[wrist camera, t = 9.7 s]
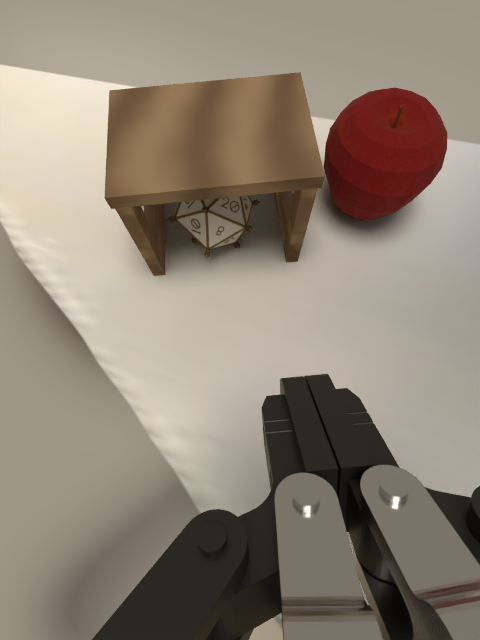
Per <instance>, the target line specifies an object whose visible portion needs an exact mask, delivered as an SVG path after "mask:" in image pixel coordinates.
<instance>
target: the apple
mask: <svg viewBox="0 0 480 640" xmlns="http://www.w3.org/2000/svg"><path fill="white" fill-rule="evenodd" d="M446 150H447V131H446V129H445V127H444V124H443V121H442V119H441V117H440V115H439V114H438V112H437V110H436V109H435V108H434V107H433V106H432V105H431V103H430V102H429V101H428V100H427V99H426V98H424V97H422V96H420V95H418V94H416V93H414V92H412V91H408V90H403V89H399V88H389V89H382V90H376V91H371V92H368V93H366V94H364V95H362V96H361V97H359V98H357V99H355V100H353V101H352V102H351V103H350V104H349V105H348V106H347V107H346V108H345V109H344V110H343V111H342V112H341V113H340V115H339V116H338V118H337V119H336V121H335V122H334V124H333V125H332V127H331V128H330V131H329V135H328V138H327V142H326V148H325V161H324V170H325V173H326V177H327V180H328V184H329V187H330V192H331V196H332V200H333V202H334V203H335V204H336V205H337V206H338V208H339V209H340V210H341V211H343V212H345V213H346V214H348V215H349V216H351V217H353V218H358V219H362V220H370V219H376V218H380V217H383V216H385V215H388V214H391V213H393V212H396V211H397V210H399V209H400V208H402V207H403V206H405V205H406V204H408V203H409V202H411V201H412V200H413V199H414V198H415V197H416V196H418V195H419V194H420V193H421V192H422V191H423V190H424V189H425V188H426V187H427V186H428V185H430V184H431V182H432V181H433V179H434V178H435V177H436V175H437V174H438V172H439V171H440V170H441V168H442V165H443V161H444V157H445V154H446Z"/></svg>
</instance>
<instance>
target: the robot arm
mask: <svg viewBox="0 0 480 640" xmlns="http://www.w3.org/2000/svg"><path fill="white" fill-rule="evenodd" d="M280 393H281V395H272V396H266V399H265V401H264V403H263V406H262V420H263V434H264V446H265V453H266V459H267V466H268V473H269V480H270V487H271V492H270V494H269V496H268V497H267V499H266V500H265V501H264V502H263V503H262V504H261V505H260V506H258V507H257V508H256V509H254V510H252V511H250V512H248V513H245V514H243V515H241V516H239V517H237V516H235V515H234V514H233V513H231V512H229V511H225V510H219V509H216V510H209V511H206V512H203V513H201V514H199V515H197V516H196V517H195V518H193V519H192V520H191V521H190V522H189V523H188V525H187V526H186V527H185V528H184V529H183V531H182V532H181V533H180V534H179V535H178V537H177V538H176V539H175V540H174V541H173V543H172V544H171V545H170V546H169V547H168V549H167V550H166V551H165V552H164V554H163V555H162V556H161V557H160V558H159V559H158V561H157V562H156V563H155V564H154V565H153V567H152V568H151V569H150V570H149V572H148V573H147V574H146V575H145V576H144V578H143V579H142V580H141V581H140V583H139V584H138V585H137V586H136V587H135V588H134V590H133V591H132V592H131V593H130V594H129V596H128V597H127V598H126V599H125V601H124V602H123V603H122V604H121V606H120V607H119V608H118V609H117V610H116V611H115V613H114V614H113V615H112V616H111V617H110V619H109V620H108V621H107V622H106V623H105V625H104V626H103V627H102V628H101V630H100V631H99V632H98V633H97V634H96V635H95V637H94V638H93V639H92V640H249V637H250V636H251V633H252V631H253V629H254V628H256V627H257V626H259V625H261V624H262V623H264V622H266V621H268V620H269V619H271V618H273V617H275V616H276V615H278V614H280V613H282V625H283V639H284V640H480V486H479V487H478V488H476V489H475V490H474V492H473V494H472V497H471V498H470V497H465V496H460V495H454V494H449V493H444V492H439V491H435V490H431V489H429V488H426V487H424V486H423V485H422V483H421V482H420V481H419V480H418V479H417V478H416V477H415V476H413V475H412V474H411V473H409V472H407V471H406V470H403V469H401V468H400V467H399V466H398V464H397V463H396V461H395V459H394V457H393V456H392V454H391V452H390V450H389V449H388V447H387V445H386V443H385V442H384V440H383V438H382V436H381V435H380V433H379V431H378V430H377V428H376V426H375V424H373V421H372V419H371V417H370V416H369V414H368V413H367V410H366V409H365V407H364V405H363V403H362V402H361V400H360V398H359V397H357V396H356V395H355V394H354V393H352V392H351V391H350V390H348V389H347V388H343V389H335V387H334V385H333V383H332V381H331V379H330V377H329V375H328V374H321V375H310V376H304V377H303V376H301V377H290V378H281V379H280ZM347 532H349V534H350V537H351V540H352V543H353V546H354V549H353V555H352V551H351V547H350V544H349V540H348V536H347ZM357 574H358V575H357ZM358 577H359V579H360V582H361V585H362V587H363V590H364V592H365V595H366V597H367V600H368V602H369V605H370V606H369V605H367V604H366V602H365V600H364V597H363V594H362V590H361V587H360V583H359V579H358ZM382 638H383V639H382Z"/></svg>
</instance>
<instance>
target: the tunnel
mask: <svg viewBox="0 0 480 640" xmlns="http://www.w3.org/2000/svg"><path fill="white" fill-rule="evenodd" d="M324 177H325V175H324V171H323V167H322V162H321V158H320V154H319V150H318V145H317V141H316V137H315V133H314V128H313V124H312V120H311V116H310V112H309V107H308V103H307V98H306V95H305V90H304V86H303V81H302V77H301V73H291V74H281V75H269V76H259V77H248V78H237V79H227V80H216V81H206V82H195V83H185V84H174V85H163V86H153V87H142V88H131V89H121V90H110V93H109V115H108V137H107V159H106V181H105V199H106V201H107V203H108V204H109V206H110V208H111V209H114V208H115V209H116V211H117V212H118V214H119V216H120V218H121V219H122V221H123V223H124V225H125V226H126V228H127V230H128V232H129V233H130V235H131V237H132V238H133V240H134V242H135V244H136V245H137V247H138V249H139V251H140V252H141V254H142V256H143V258H144V259H145V261H146V263H147V265H148V266H149V268H150V270H151V271H152V273H153V275H154V276H156V275H165V250H164V213H163V204H164V203H175V202H185V201H195V200H205V199H215V198H225V197H236V196H246V195H256V194H266V193H275V197H276V203H277V209H278V215H279V221H280V227H281V233H282V239H283V245H284V251H285V257H286V262H295V261H298V258H299V254H300V250H301V247H302V243H303V239H304V236H305V232H306V228H307V225H308V221H309V217H310V214H311V210H312V207H313V203H314V199H315V196H316V192H317V188H322V184H323V181H324ZM293 191H294V192H293ZM141 206H144V212H143V210H142V208H141Z"/></svg>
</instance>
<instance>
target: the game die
mask: <svg viewBox="0 0 480 640" xmlns="http://www.w3.org/2000/svg"><path fill="white" fill-rule="evenodd" d="M259 203H260V201H258V200H257V199H256V200H254V201H251V199H250V198H249V196H248V195H246V196H236V197H225V198H215V199H205V200H195V201H185V202H180V203H179V206H178V209H177V212H176V214H175V217H172V216H171V217H169V218H168V219H167V220H166V221H169V222H170V223H171V222H173V221H177V222H178V223H179V224H180V225H181V226H182V227H183V228H184V229H185V230H186V231H188V232H189V233H190V234H191V235H192V236H193V238H192V242H196V241H198V242H199V243H200V244H201V245H203V246H204V247H205V248H206V249H207V250H206V251H205V252H206V253H205V256H206V258H207V257H208V256H209V255H210V253H211V252H210V249H214V248H218V247H221V246H225V245H229V244H232V243H234V244H235V246H236V247H237V248H240V244H239V243H238V242H237V240H238V239H239V238H240V236H241V235H242V233H243V232H244V231H245V229H246V230H247V231H249V232H251V231H253V229H252V227H250V226H247V225H248V221H249V217H250V213H251V209H252V205H258V204H259Z"/></svg>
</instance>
